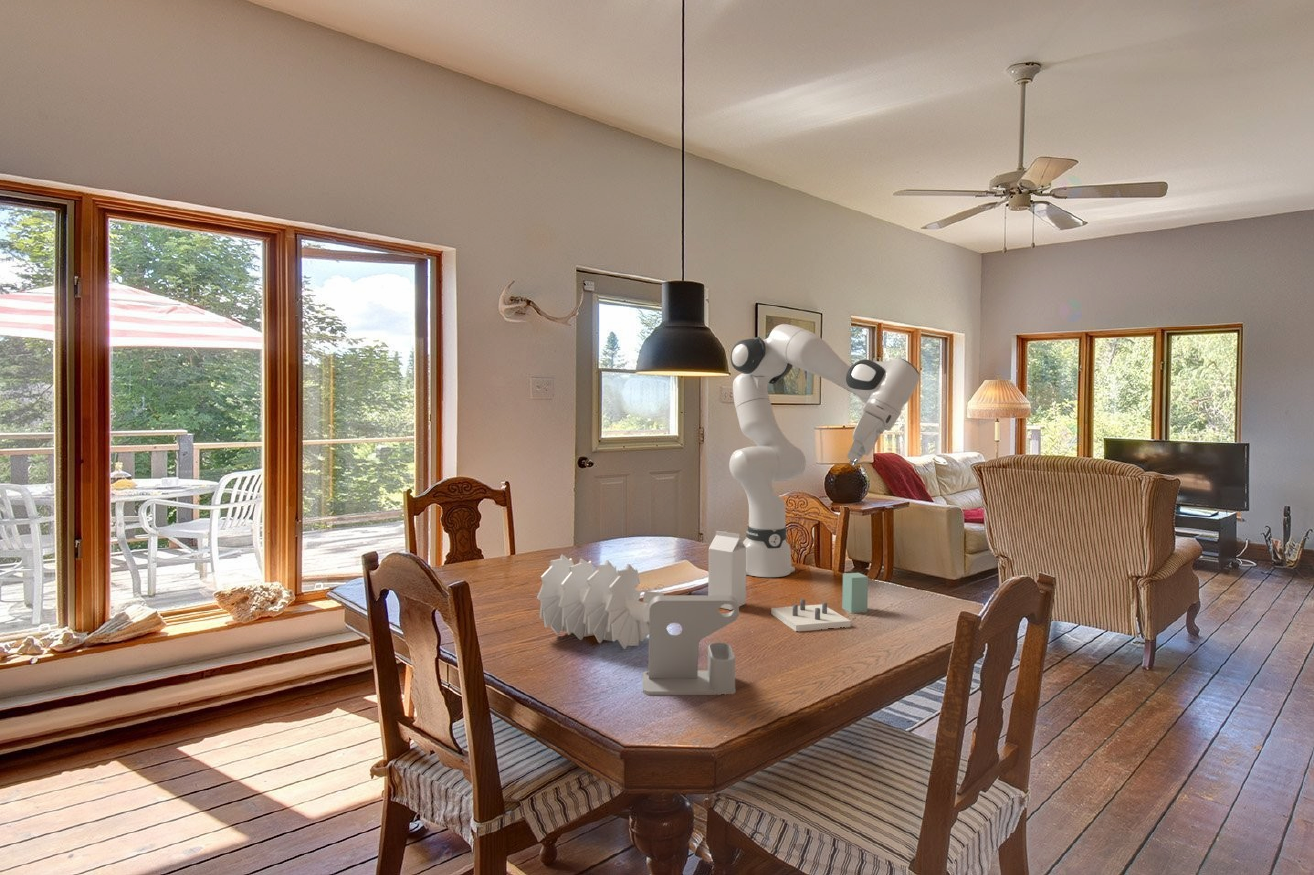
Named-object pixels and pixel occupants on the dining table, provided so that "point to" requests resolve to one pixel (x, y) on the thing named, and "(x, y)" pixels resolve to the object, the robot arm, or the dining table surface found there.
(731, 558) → the milk carton
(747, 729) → the dining table surface
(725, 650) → the grey mounting bracket
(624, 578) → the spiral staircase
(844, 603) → the block
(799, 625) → the peg board
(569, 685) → the dining table surface
